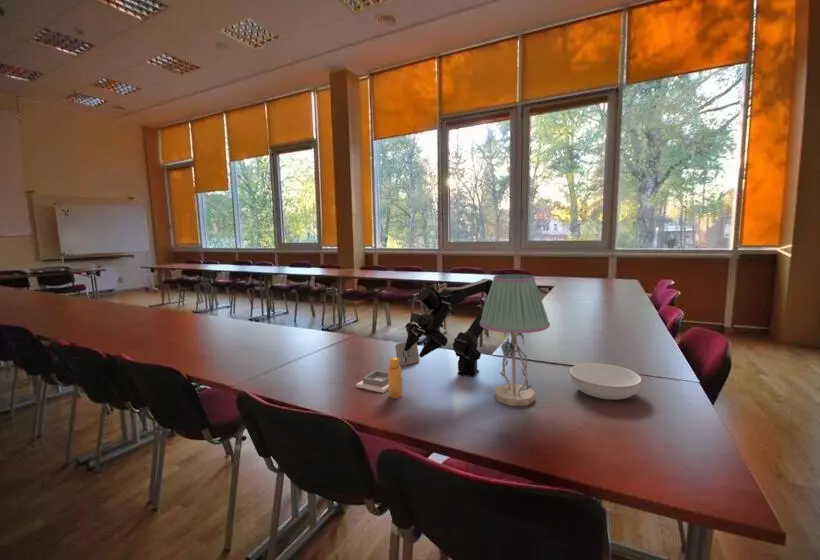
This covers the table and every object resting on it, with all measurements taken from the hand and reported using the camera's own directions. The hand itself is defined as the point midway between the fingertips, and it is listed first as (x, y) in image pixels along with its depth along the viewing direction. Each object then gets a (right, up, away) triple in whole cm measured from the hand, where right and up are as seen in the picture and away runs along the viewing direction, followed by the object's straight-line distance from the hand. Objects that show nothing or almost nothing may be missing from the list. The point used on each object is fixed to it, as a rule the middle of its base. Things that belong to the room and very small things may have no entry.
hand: (412, 353), depth 135 cm
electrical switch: (-2, -10, +30) cm, 32 cm away
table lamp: (+33, -13, -8) cm, 37 cm away
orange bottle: (-6, -14, -3) cm, 15 cm away
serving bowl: (+63, -12, -7) cm, 65 cm away
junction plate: (-12, -13, +8) cm, 19 cm away
